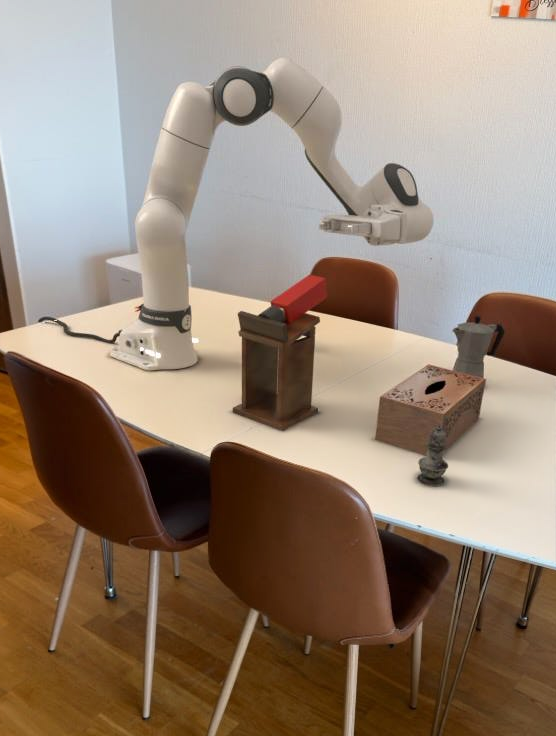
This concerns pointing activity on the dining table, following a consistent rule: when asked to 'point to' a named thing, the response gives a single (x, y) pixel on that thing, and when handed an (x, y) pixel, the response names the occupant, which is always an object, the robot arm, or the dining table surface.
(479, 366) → the coffeepot
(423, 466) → the dark stone figurine
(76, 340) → the dining table surface
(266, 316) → the tall red pillar
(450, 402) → the tissue box cover
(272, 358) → the wooden lectern stand
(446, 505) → the dining table surface
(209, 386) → the dining table surface
